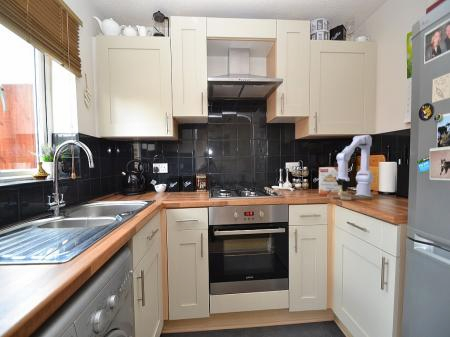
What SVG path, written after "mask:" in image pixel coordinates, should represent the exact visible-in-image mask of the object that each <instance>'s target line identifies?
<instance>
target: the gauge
mask: <svg viewBox="0 0 450 337" xmlns="http://www.w3.org/2000/svg"><path fill="white" fill-rule="evenodd" d="M338 195H340V199H341V200H344V201H345V200H346V201H347V200H350V201H351V195H352V193H351V192H350V193H349V192H348V190H347V191H343V190H342V185H339V192H338ZM341 200H340V201H341Z"/></svg>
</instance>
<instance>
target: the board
mask: <svg viewBox="0 0 450 337" xmlns="http://www.w3.org/2000/svg"><path fill="white" fill-rule="evenodd" d="M326 196H327V198H330V199H331V200H340V201H341V199H340V195H335V194H326ZM351 200H352V201H354V200H355V201H356V200H357V201H358V200H360V201H361V200H362V201H364V200H365V201H368V200H370V201H372V200H373V196H365V195H356V194H351ZM351 200H350V201H351Z"/></svg>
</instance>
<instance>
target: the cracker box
mask: <svg viewBox="0 0 450 337" xmlns="http://www.w3.org/2000/svg"><path fill="white" fill-rule="evenodd" d="M336 177H338V166H335V167H334V166H326V167H325V166H324V167H318V194H319V195H338V192H339V187H338V184H337V182H336V180H338V179H337V178H336Z"/></svg>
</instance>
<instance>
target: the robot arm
mask: <svg viewBox="0 0 450 337" xmlns="http://www.w3.org/2000/svg"><path fill="white" fill-rule="evenodd" d="M372 140H373V137H372V136H371V135H370V134H364V135H355V136H354V137H353V138H352V142H351V143H350V145H348V146H345V148H344V149H343V150H342V151H341V152H339V153H338V154H337V155H336V158H335V159H336V160H337V162H336V163H337V167H338V177H336V178H337V179H338V180H336V182H337V184H338V187H339V185H342V190H343V191H347V192H348V187H349V185H350V183H351V181H350V177H349V176H348V175H349V162H350V159H351V157H352V155H353V153H354V152H355V149H356V148H357V147H358V148H360V149H361V152H360V154H361V156H360V170H358V171H357V173H356V176H355V181H356V182H357V185H356V193H355V195H365V196H369V197H373V195H371V185H372V183H373V182H374V179H375V178H374V173H373V171H371V170H370V156H371V155H370V154H371V152H370V151H371V147H372V144H373V143H372V142H373V141H372Z"/></svg>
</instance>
